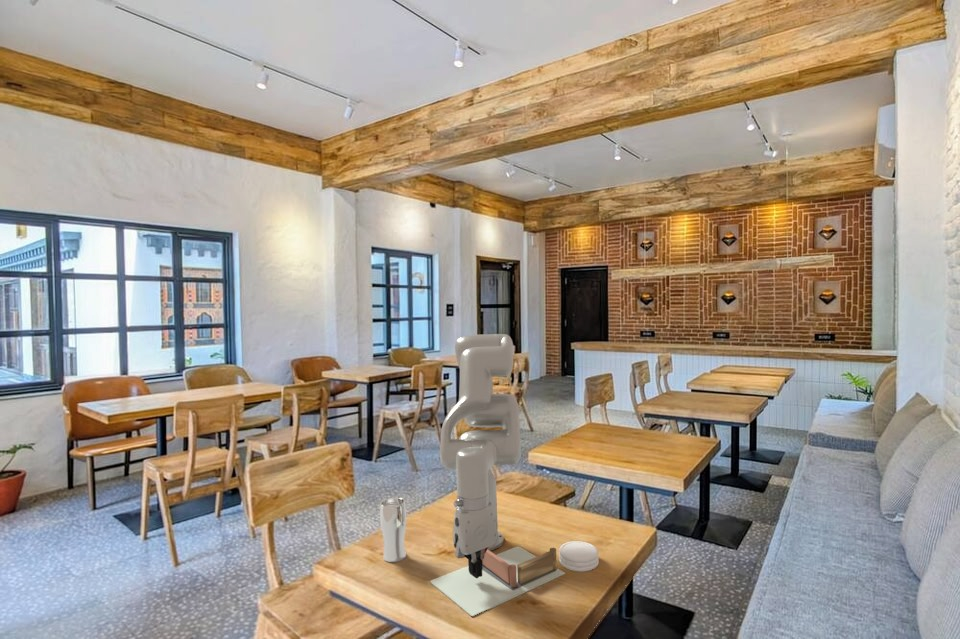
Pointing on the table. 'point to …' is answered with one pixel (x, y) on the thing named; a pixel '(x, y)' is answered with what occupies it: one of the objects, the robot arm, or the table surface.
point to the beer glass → (393, 528)
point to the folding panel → (500, 568)
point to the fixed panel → (537, 566)
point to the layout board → (489, 584)
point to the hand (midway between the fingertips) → (475, 574)
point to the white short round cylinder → (578, 556)
